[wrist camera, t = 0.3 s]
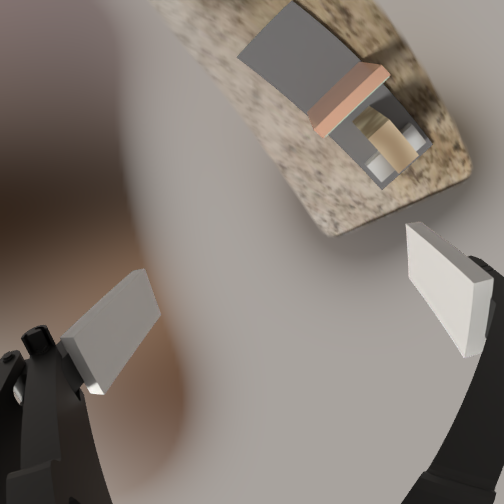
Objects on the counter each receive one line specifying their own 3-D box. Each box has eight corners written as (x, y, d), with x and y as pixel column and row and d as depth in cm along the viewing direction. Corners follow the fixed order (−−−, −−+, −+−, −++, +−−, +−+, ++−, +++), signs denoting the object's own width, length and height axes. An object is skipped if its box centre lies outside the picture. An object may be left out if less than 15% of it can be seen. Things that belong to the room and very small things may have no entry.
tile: (359, 61, 30) (381, 64, 23) (367, 69, 30) (391, 75, 23) (306, 112, 34) (313, 129, 27) (315, 119, 35) (324, 139, 27)
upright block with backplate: (383, 92, 32) (406, 103, 25) (422, 139, 34) (450, 161, 28) (337, 135, 36) (349, 155, 29) (379, 178, 38) (397, 207, 32)
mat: (291, 1, 27) (291, 0, 27) (431, 143, 35) (432, 144, 34) (237, 57, 32) (236, 57, 31) (380, 188, 39) (381, 190, 39)
